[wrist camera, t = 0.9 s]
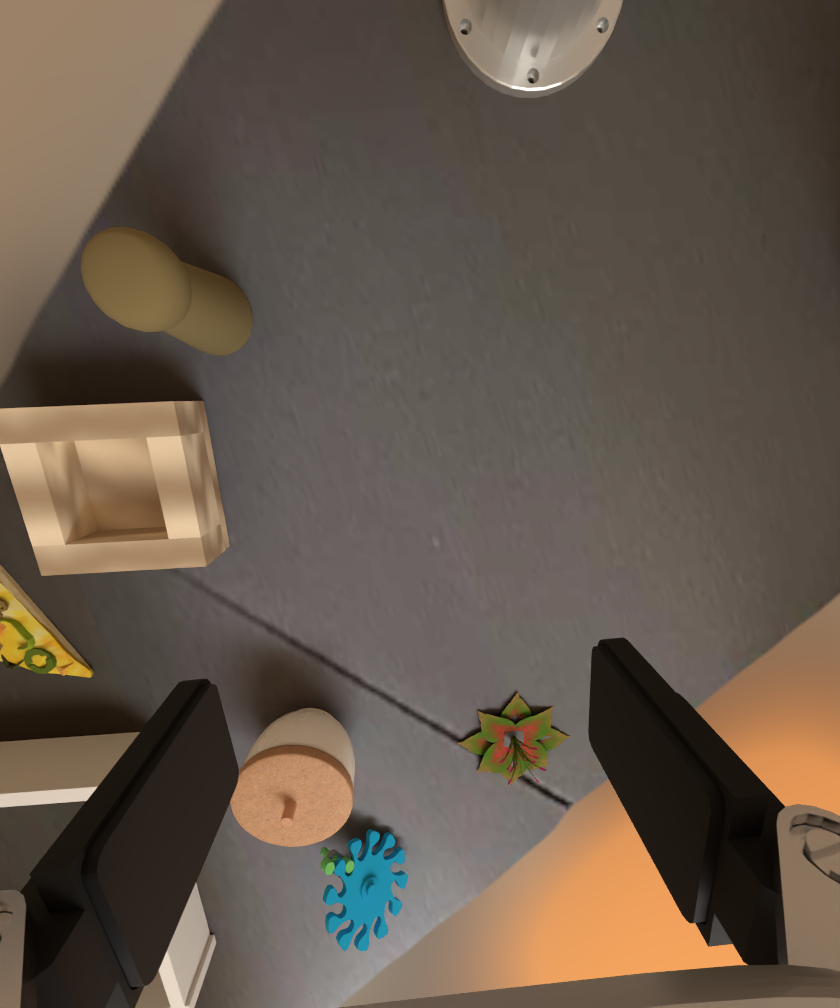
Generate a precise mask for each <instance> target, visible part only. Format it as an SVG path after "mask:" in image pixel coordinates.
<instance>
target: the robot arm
mask: <svg viewBox="0 0 840 1008" xmlns="http://www.w3.org/2000/svg"><path fill="white" fill-rule="evenodd" d="M622 3H623V0H442V5H443V11H444V17H445V21H446V24H447V27H448V30H449V33H450V36H451V39H452V41H453V43H454V45H455V47H456V49H457V51H458V53H459V54H460V56H461V58H462V59H463V61H464V62H465V63H466V65H467V66H468V67H469V68H470V70H471V71H472V72H473V73H474V74H475V75H476V76H477V77H478V78H479V79H481V80H482V81H483V82H484V83H485V84H487V85H488V86H490V87H492V88H493V89H495V90H497V91H499V92H501V93H504V94H507V95H511V96H514V97H521V98H536V97H541V96H546V95H550V94H552V93H555V92H557V91H559V90H562V89H564V88H566V87H567V86H568V85H570V84H571V83H573V82H574V81H575V80H577V79H578V78H579V77H580V76H581V75H582V74H583V73H584V72H585V71H586V70H587V69H588V68H589V67H590V66H591V65H592V64H593V62H594V61H595V59H596V58H597V56H598V55H599V53H600V52H601V50H602V49H603V47H604V46H605V44H606V42H607V40H608V39H609V37H610V35H611V33H612V31H613V29H614V26H615V24H616V21H617V18H618V16H619V13H620V10H621V7H622ZM598 31H600V32H601V33H600V32H598ZM462 32H466V34H467V35H464V34H462ZM528 80H532V82H533V84H532V83H529V81H528ZM588 732H589V739H590V743H591V746H592V748H593V751H594V752H595V754H596V756H597V758H598V760H599V762H600V764H601V765H602V767H603V769H604V771H605V773H606V775H607V777H608V778H609V780H610V782H611V784H612V786H613V788H614V789H615V791H616V793H617V795H618V797H619V798H620V801H621V802H622V804H623V806H624V808H625V810H626V812H627V814H628V815H629V817H630V819H631V821H632V823H633V825H634V827H635V828H636V830H637V832H638V834H639V836H640V837H641V839H642V841H643V843H644V845H645V847H646V849H647V851H648V853H649V854H650V856H651V858H652V860H653V862H654V864H655V865H656V867H657V869H658V871H659V873H660V875H661V877H662V878H663V880H664V882H665V884H666V886H667V888H668V889H669V891H670V893H671V895H672V897H673V899H674V901H675V903H676V904H677V906H678V908H679V910H680V911H681V913H682V915H683V916H684V918H685V919H686V920H687V921H688V922H689V923H696V925H697V927H698V929H699V930H700V932H701V934H702V936H703V938H704V939H705V941H706V943H707V945H708V946H718V945H726V944H733V945H734V946H735V948H736V950H737V952H738V953H739V955H740V956H741V958H742V960H743V962H745V963H746V964H748V965H741V966H740V965H737V966H725V967H714V968H701V969H690V970H678V971H666V972H655V973H643V974H633V975H624V976H615V977H606V978H597V979H588V980H578V981H569V982H561V983H551V984H542V985H534V986H524V987H515V988H506V989H496V990H488V991H479V992H470V993H461V994H453V995H444V996H435V997H428V998H418V999H409V1000H401V1001H392V1002H384V1003H376V1004H368V1005H358V1006H350V1007H341V1008H840V816H838V815H836V814H834V813H832V812H830V811H827V810H824V809H820V808H817V807H814V806H807V805H799V804H796V805H792V806H787V807H785V806H784V805H783V804H782V803H781V802H780V801H779V800H778V798H777V797H776V796H775V795H774V794H773V793H772V792H771V791H770V790H769V789H768V788H767V787H766V786H765V784H764V783H763V782H762V781H761V780H760V779H759V778H758V777H757V776H756V775H755V774H754V773H753V772H752V770H751V769H750V768H749V767H748V766H747V765H746V764H745V763H744V762H743V761H742V760H741V759H740V758H739V757H738V756H737V754H736V753H735V752H734V751H733V750H732V749H731V748H730V747H729V746H728V745H727V744H726V743H725V742H724V741H723V739H722V738H721V737H720V736H719V735H718V734H717V733H716V732H715V731H714V730H713V729H712V728H711V727H710V725H709V724H708V723H707V722H706V721H705V720H704V719H703V718H702V717H701V716H700V715H699V714H698V713H697V711H696V710H695V709H694V708H693V707H692V706H691V705H690V704H689V703H688V702H687V701H686V700H685V699H684V698H683V697H682V696H681V695H680V694H678V693H676V692H675V691H674V690H673V689H672V688H671V687H670V686H669V685H668V683H667V682H666V681H665V680H664V679H663V678H662V677H661V676H660V675H659V674H658V673H657V672H656V670H655V669H654V668H653V667H652V666H651V665H650V664H649V663H648V662H647V661H646V660H645V659H644V657H643V656H642V655H641V654H640V653H639V652H638V651H637V650H636V649H635V648H634V647H633V646H632V644H631V643H630V642H629V641H628V640H627V639H625V638H613V639H603V640H600V641H599V643H598V646H595V647H593V649H592V660H591V683H590V707H589V730H588ZM238 778H239V769H238V764H237V761H236V757H235V753H234V749H233V745H232V742H231V738H230V734H229V730H228V727H227V723H226V719H225V715H224V711H223V708H222V704H221V700H220V696H219V693H218V689H217V686H216V685H214V684H211V683H210V681H209V680H208V679H197V680H187V681H182V682H179V683H178V684H177V685H176V687H175V688H174V689H173V691H172V692H171V693H170V694H169V696H168V697H167V698H166V700H165V701H164V702H163V703H162V705H161V706H160V707H159V709H158V710H157V711H156V712H155V714H154V715H153V716H152V718H151V719H150V720H149V721H148V723H147V724H146V725H145V727H144V728H143V729H142V730H141V732H140V733H139V734H138V736H137V737H136V738H135V739H134V741H133V742H132V743H131V745H130V746H129V747H128V748H127V750H126V751H125V752H124V754H123V755H122V756H121V757H120V759H119V760H118V761H117V763H116V764H115V765H114V766H113V768H112V769H111V770H110V772H109V773H108V774H107V775H106V777H105V778H104V779H103V781H102V782H101V783H100V784H99V786H98V787H97V788H96V790H95V791H94V792H93V793H92V795H91V796H90V797H89V798H88V800H87V801H86V802H85V804H84V805H83V806H82V807H81V809H80V810H79V811H78V813H77V814H76V815H75V816H74V818H73V819H72V820H71V822H70V823H69V824H68V825H67V827H66V828H65V829H64V831H63V832H62V833H61V834H60V836H59V837H58V838H57V840H56V841H55V842H54V843H53V845H52V846H51V847H50V849H49V850H48V851H47V852H46V854H45V855H44V856H43V858H42V859H41V860H40V861H39V863H38V864H37V865H36V867H35V868H34V869H33V870H32V872H31V873H30V875H31V879H30V880H29V881H28V883H27V884H26V885H25V886H24V888H23V889H22V890H21V892H20V893H19V892H18V891H16V890H6V891H0V1008H135V1006H136V1004H137V1002H138V1000H139V997H140V995H141V993H142V990H143V988H144V986H147V985H149V984H150V983H151V982H152V981H153V979H154V978H155V976H156V975H157V972H158V970H159V968H160V966H161V964H162V961H163V959H164V957H165V954H166V952H167V949H168V947H169V945H170V942H171V940H172V938H173V935H174V933H175V931H176V928H177V926H178V923H179V921H180V919H181V916H182V914H183V912H184V909H185V907H186V905H187V902H188V900H189V897H190V895H191V893H192V890H193V888H194V886H195V883H196V881H197V879H198V876H199V874H200V872H201V869H202V867H203V864H204V862H205V860H206V857H207V855H208V853H209V850H210V848H211V846H212V843H213V841H214V838H215V836H216V834H217V831H218V829H219V827H220V824H221V822H222V820H223V817H224V815H225V812H226V810H227V808H228V805H229V803H230V801H231V798H232V796H233V794H234V791H235V789H236V786H237V783H238Z"/></svg>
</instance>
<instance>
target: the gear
mask: <svg viewBox="0 0 840 1008" xmlns="http://www.w3.org/2000/svg"><path fill="white" fill-rule="evenodd" d="M379 838H380V834H379V833H378V832H376V831H375V830H373V829H369V830H368V831H367V834H366V845H365V849H364V851H363V853H362V855H361V857H360V858H358V853H359V851H360V849H361V846H362V843H361V840H360V839H358V838H353V839H351V840H350V841H348V849H349V851H350V853H351V859H350V858H349V857H348V856H343V855H342V854H340V853H339V852H337V851H336V850H331V851H329V850H328V849H327V848H326V847H323V848H322V849H321V852H320V853H321V855H322V856H323V857H324V859H323V860H322V861H321V868H322V870H323V871H324V872H325V873H326V874H327V875H330V874H332V873H334V874H335V875H337V876H338V877H340V878H341V879H342V882H343V889H342V891H341V892H340V893H339V894H337V891H336V889H335V888H334V887H333V886H332V885H327V887H326V889H325V892H324V896H323V900H324V902H325V903H326V904H327V905H331V904H333V903H342V904H343V910H342V912H341V913H340V914H338V915H337V914H335V913H333V912H330V913H328V914H327V915H326V919H325V923H326V929H327V931H328V932H329V933H330V934H331V933H333V932H335V931H336V929H337V928H338V927H339V926H340V925H341V924H342V923H343V922H345V921H348V920H351V923H350V925H349V927H348V928H346V929H343V930H341V931H340V932H339V933H338V934H337V936H336V940H337V942H338V944H339V945H340V946H341V948H342V949H343V950H344V951H346V950H347V949H348V947H349V945H350V942H351V939H352V937H353V935H354V933H355V932H356V930H357V929H358V928H359V927H360V926H361V925H362V924H364V925H363V929H362V930H361V931H360V932H359V934H358V935H357V936H356V938H355V941H354V945H355V946H356V947H357V949H358V950H360V951H366V950H367V949H368V946H369V933H370V929H371V926H372V923H373V921H374V919H375V918H376V917H377V916H378V918H377V921H376V924H375V926H374V934H375V936H376V937H377V938H378V939H381V938H383V937H384V936H385V935H386V934H387V933H388V927H387V925H386V922H385V919H384V910H385V904H386V902H387V901H388V900H389V906H388V908H389V911H390V912H391V913H392V914H393V915H394V916H396V915H397V914H398V913H399V911H400V909H401V907H402V903H401V901H400V900H399V899H397V898H396V897H394V896H393V894H392V891H391V884H392V882H393V881H394V880H395V882H396V884H397V885H398V886H399V887H400V888H401V889H404V888H405V886H406V883H407V878H408V875H407V874H406V873H404V872H403V871H399V872H396V873H393V872H391V871H390V867H391V864H392V863H393V862H397V863H398V864H402V863H404V861H405V855H404V850H403V849H402V848H400V847H397V848H396V849H395V850H394V852H393V853H392V854H390V855H389V856H386V857H383V853H384V851H385V850H386V849H388V848H392V847H393V846H394V844H395V839H394V837H393V836H392V835H391V834H390V833H389V832H386V833H385V834H384V836H383V839H382V841H381V843H380V845H379V846H378V848H377V849H376V850H375V851H374V852H371V850H372V847H373V846H374V845H375V844H376V843H377V842H378V840H379Z"/></svg>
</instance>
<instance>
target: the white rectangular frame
mask: <svg viewBox="0 0 840 1008" xmlns="http://www.w3.org/2000/svg"><path fill="white" fill-rule="evenodd" d="M139 733H140V732H133V733H119V734H105V735H91V736H77V737H63V738H48V739H34V740H20V741H6V742H0V807H10V806H23V805H37V804H50V803H63V802H76V801H87V800H88V798H89V797H90V796H91V795H92V793H93V792H94V791H95V790H96V788H97V787H98V786H99V784H100V783H101V782H102V781H103V779H104V778H105V777H106V775H107V774H108V773H109V772H110V770H111V769H112V768H113V766H114V765H115V764H116V763H117V761H118V760H119V759H120V757H121V756H122V755H123V754H124V752H125V751H126V750H127V748H128V747H129V746H130V745H131V743H132V742H133V741H134V739H135V738H136V737H137V736H138V734H139ZM215 945H216V939H215V936H214V935H210V932H209V929H208V925H207V921H206V917H205V914H204V910H203V906H202V903H201V899H200V895H199V891H198V888H197V884H196V883H195V886H194V888H193V890H192V893H191V895H190V897H189V900H188V902H187V905H186V907H185V909H184V912H183V914H182V916H181V919H180V921H179V923H178V926H177V928H176V931H175V933H174V935H173V938H172V940H171V942H170V945H169V947H168V949H167V952H166V954H165V957H164V959H163V961H162V964H161V966H160V968H159V970H158V972H157V975H156V976H155V978H154V979H153V981H152V982H151V983H150V984H149V985H147V986H144V988H143V990H142V993H141V995H140V997H139V1000H138V1002H137V1004H136V1006H135V1008H194V1007H195V1004H196V1001H197V998H198V995H199V992H200V989H201V986H202V983H203V980H204V977H205V974H206V971H207V968H208V965H209V963H210V960H211V957H212V954H213V951H214V948H215Z"/></svg>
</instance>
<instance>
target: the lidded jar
mask: <svg viewBox="0 0 840 1008" xmlns="http://www.w3.org/2000/svg"><path fill="white" fill-rule="evenodd" d="M354 775H355V761H354V753H353V747H352V744H351V741H350V738H349V736H348V734H347V732H346V731H345V729H344V727H343V726H342V725H341V724H340V723H339V722H338V721H337V720H336V719H335V718H334V717H333V716H332V715H331V714H329V713H328V712H326V711H324V710H321V709H317V708H303V709H299V710H297V711H294V712H291V713H288V714H285V715H284V716H282V717H280V718H278V719H277V720H275V721H274V722H273V723H271V724H270V725H269V726H268V727H267V728H266V729H265V730H264V731H263V732H262V733H261V735H260V736H259V737H258V739H257V740H256V742H255V743H254V745H253V746H252V748H251V750H250V751H249V753H248V755H247V757H246V759H245V761H244V763H243V765H242V767H241V769H240V771H239V778H238V783H237V786H236V789H235V791H234V794H233V796H232V798H231V801H230V803H231V807H232V811H233V814H234V816H235V818H236V819H237V821H238V822H239V824H240V825H241V826H242V827H243V828H244V829H245V830H246V831H247V832H249V833H250V834H251V835H253V836H254V837H256V838H258V839H260V840H262V841H265V842H268V843H271V844H275V845H280V846H306V845H310V844H314V843H317V842H320V841H323V840H325V839H326V838H328V837H330V836H331V835H333V834H334V833H336V832H337V831H338V830H339V829H340V828H341V827H342V826H343V825H344V823H345V822H346V821H347V819H348V817H349V815H350V813H351V810H352V806H353V797H354V788H353V787H354Z"/></svg>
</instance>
